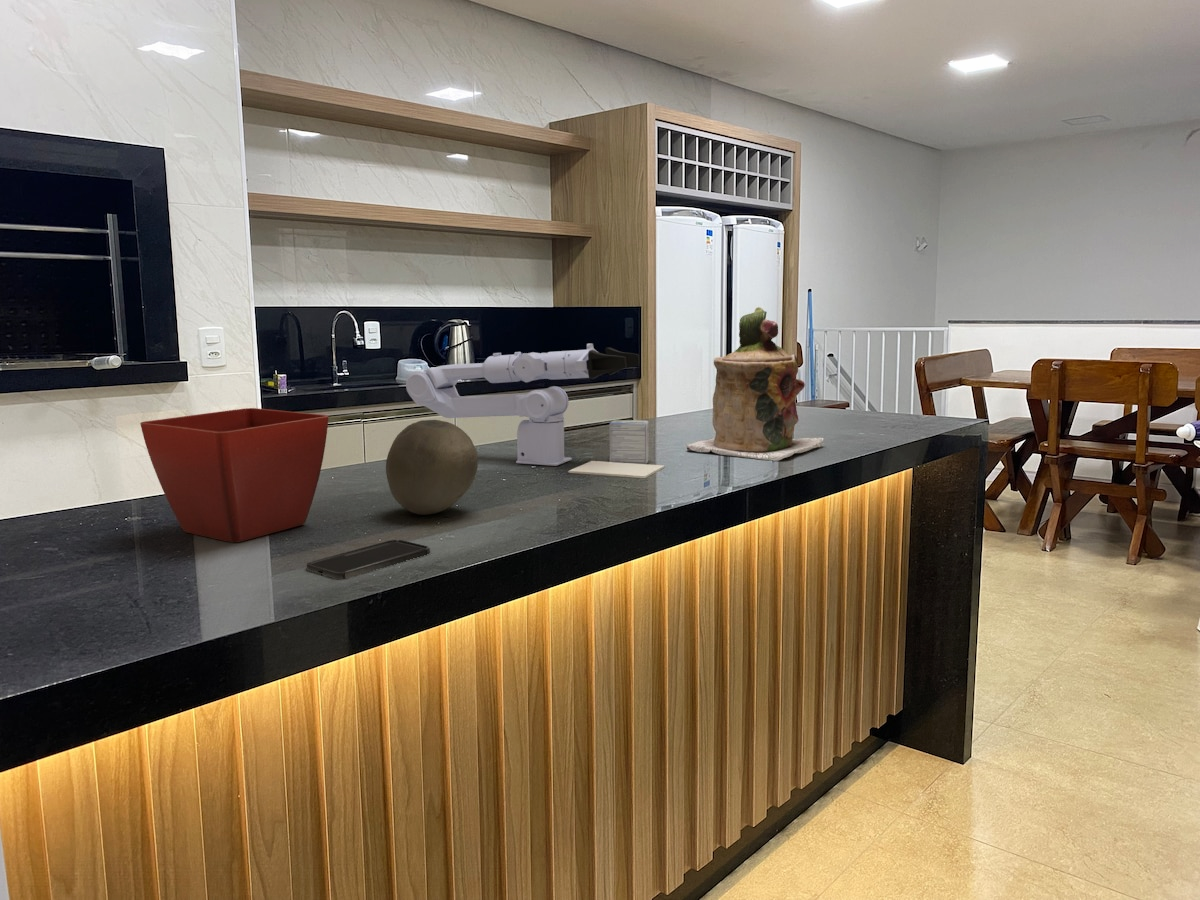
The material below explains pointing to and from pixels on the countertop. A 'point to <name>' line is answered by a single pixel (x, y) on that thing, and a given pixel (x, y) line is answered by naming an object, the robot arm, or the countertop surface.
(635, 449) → the medicine box
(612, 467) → the mat
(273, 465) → the plant pot
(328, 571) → the phone
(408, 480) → the cantaloupe
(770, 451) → the cookie jar
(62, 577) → the countertop surface
